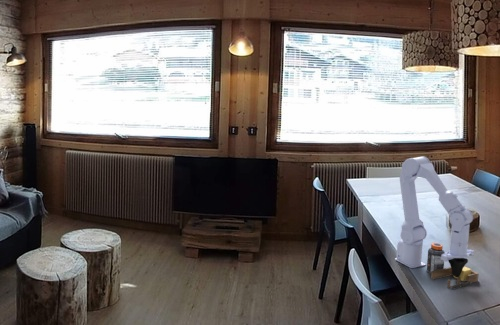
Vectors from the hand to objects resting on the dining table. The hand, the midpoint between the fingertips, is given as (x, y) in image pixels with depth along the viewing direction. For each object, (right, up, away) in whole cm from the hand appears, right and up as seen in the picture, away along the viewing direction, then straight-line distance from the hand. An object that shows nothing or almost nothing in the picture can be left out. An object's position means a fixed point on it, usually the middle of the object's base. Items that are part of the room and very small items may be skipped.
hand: (455, 276), depth 144 cm
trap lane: (-1, -1, 0) cm, 2 cm away
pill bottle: (-5, -1, +7) cm, 8 cm away
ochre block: (+3, -1, +2) cm, 4 cm away
